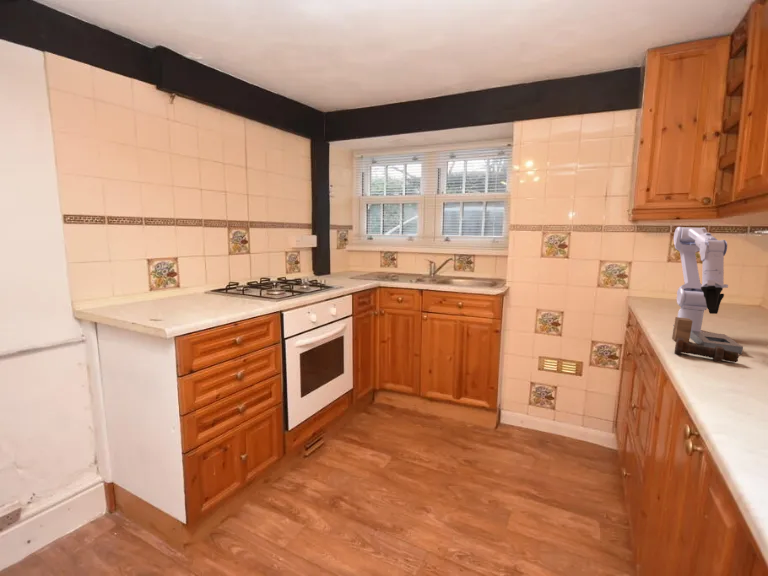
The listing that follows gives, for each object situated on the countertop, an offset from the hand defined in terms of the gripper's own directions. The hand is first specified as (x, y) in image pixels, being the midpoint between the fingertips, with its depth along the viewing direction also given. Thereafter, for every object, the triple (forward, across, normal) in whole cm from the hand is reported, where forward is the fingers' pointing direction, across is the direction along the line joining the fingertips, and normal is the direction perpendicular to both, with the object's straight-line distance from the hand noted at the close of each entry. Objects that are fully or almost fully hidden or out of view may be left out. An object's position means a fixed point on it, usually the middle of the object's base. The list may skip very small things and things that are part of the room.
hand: (712, 311), depth 136 cm
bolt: (+18, -15, +1) cm, 24 cm away
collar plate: (+11, +4, 0) cm, 12 cm away
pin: (+11, 0, +9) cm, 14 cm away
